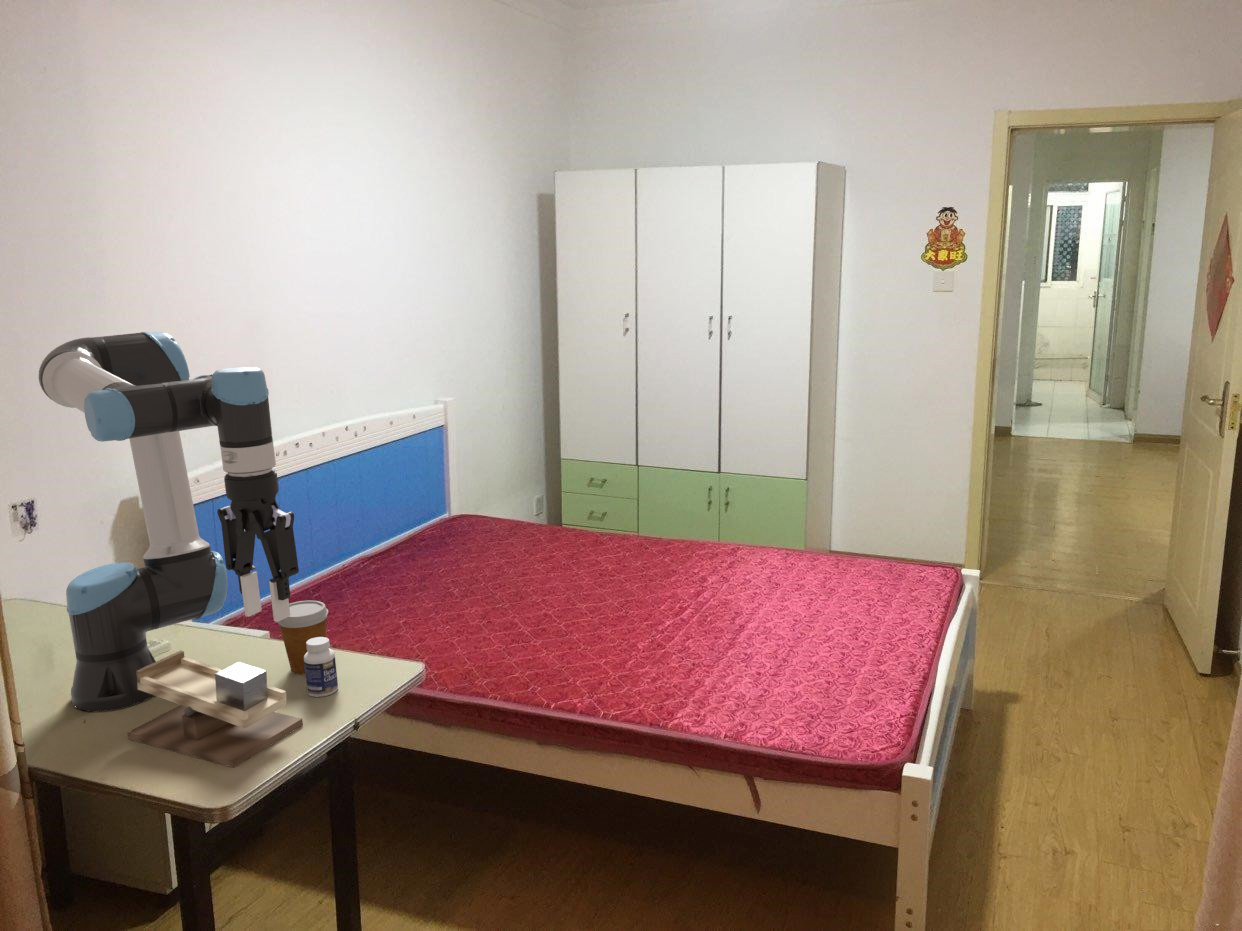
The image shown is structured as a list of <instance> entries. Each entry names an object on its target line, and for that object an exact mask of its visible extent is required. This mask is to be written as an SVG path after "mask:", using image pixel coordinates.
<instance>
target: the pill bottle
mask: <svg viewBox="0 0 1242 931" xmlns="http://www.w3.org/2000/svg"><path fill="white" fill-rule="evenodd" d="M330 647H331V646H330V639H329V638H328V637H327V636H326V637H316V638H312V639H309V640H308V641H307V642H306V648H307V651H308V652H307V653H306V654H305V655H304V667H305V674H304V676H305V683H306V692H307V694H308V695H309V696H310V697H315V698H320V697H321V698H322V697H327V696H330V695H333V694H335V693H336V692H337V691H338V689H339V684H338V682H339V681H338V673H337V672H338V671H337V664H336V662H337V661H336V655H335V651H334V650H333V649H331V648H330Z"/></svg>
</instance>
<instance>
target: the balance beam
mask: <svg viewBox="0 0 1242 931" xmlns="http://www.w3.org/2000/svg"><path fill="white" fill-rule="evenodd" d="M221 670H223V669H222V668H219V667H216V666H213V665H210V664H206V663H205V662H204V663H203V662H201V661H198V660H196V659H195V660H194V659H192V658H189V657H187V656H185V651H183V650H179V651H178V650H177V651H176V652H174V653H172V654H170V655H168V656H166V657H163V658H161V659H159V660H156V662H154V663H152V664H150V665H148V666H146V667H144V668H141V669H139V670H137V671H136V673H137V686H138V690H141V691H144V692H146V693H149V694H152V695H154V696H155V697H158V698H160V699H164V700H166V701H168V702H172V703H175V704H177V705H178V706H180V705H182V706H185V707H186V708H185V709H184V712H185V714H186V715H187V716H190V715H192V714H194V713H195V712H197V711H198V712H201V713H204V714H206V715H209V716H212V717H215V718H217V719H220V720H223V721H226V722H228V723H231V724H234V725H237V726H239V727H242V728H247V727H248V726H250V725H252V724H254V723H255V722H257V721H259V720H260V719H262V718H264V717H266V716H267V715H269V714H271V713H272V712H276V711H277V710H279V709H281V708H283V707H284V706H286V705H287V690H284V689H281V688H279V687H274V686H272V685H269V684H267V696H268V698H267V699H266V700H264V701H262V702H260V703H259V704H257V705H255V706H253V707H251V708H250V709H248V710H246V711H242V710H239V709H236V708H234V707H231V706H228V705H225V704H222V703H220V702H217V699H216V681H215V673H217V672H219V671H221Z"/></svg>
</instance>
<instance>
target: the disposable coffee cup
mask: <svg viewBox="0 0 1242 931" xmlns="http://www.w3.org/2000/svg"><path fill="white" fill-rule="evenodd" d="M289 608H290V616H289V617H287V618H285V619H283V620H281V621H279V622H277V624H278V625H279V628H280V632H281V636H282V640H283V645H284V647H285V652H286V655H287V658H288V663H289V667H290V668H289V669H290V672H292V673H293V672H294V674H296V673H298V674H297V675H305V667H304V655H305V654H306V653H307V652H308V651H307V648H306V642H307V641H308V640H309V639H312V638H316V637H326V638H327V618H328V614H329V609H328V608H327V607H326V604H325V603H324V602H322V601H320V600H319V601H318V600H301V601H300V600H299V601H295V602H289Z"/></svg>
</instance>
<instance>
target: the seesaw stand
mask: <svg viewBox="0 0 1242 931" xmlns="http://www.w3.org/2000/svg"><path fill="white" fill-rule="evenodd" d="M185 708H186V707H185V706H182V705H177V706H176V707H174V708H172V709H170V710H168V711H166V712H164V713H163V714H160V715H158V716H156V717H155V718H152V719H151V720H149V721H147V722H144V723H143V724H141V725H139V726H137V727H135V728H133V729H131V730H129V731H128V732H127V738H128V740H131V741H134V742H138V743H142V744H145V745H149V746H153V747H157V748H160V749H164V750H167V751H171V752H175V753H178V754H182V755H186V756H190V757H194V758H197V759H201V760H205V761H207V762H208V761H209V762H213V763H215V764H220V765H224V766H227V767H230V768H236V767H237V766H240V765H241V764H243V763H244V762H245V761H247V760H249V759H251V758H253V757H254V756H255V755H257V754H258V753H260V752H262V751H263V750H265V749H266V748H268V747H270V746H272V745H273V744H275V743H276V742H277V741H280V740H281V739H283V738H284V737H286V736H287V734H288V735H289V734H291V733H293V732H294V731H296V730H297V729H299V728H300V726H301V727H302V726H303V725H304V723H303V722H304V721H303V718H301V717H297V716H293V715H288V714H284V713H280V712H276V711H274V712H272V713H271V714H269V715H267V716H266V717H264V718H262V719H260V720H259V721H257V722H255V723H254V724H252V725H250V726H248V727H247V728H242V727H239V726H237V725H234V724H231V723H228V722H226V721H223V720H220V719H217V718H215V717H212V716H209V715H206V714H204V713H201V712H198V711H197V712H195V713H194V714H192V715H190V716H187V715H186V714H185V712H184V709H185ZM295 729H296V730H295ZM293 730H294V731H293ZM292 731H293V732H292ZM290 732H291V733H290ZM285 735H286V736H285ZM282 737H283V738H282ZM279 739H280V740H279ZM271 744H272V745H271Z"/></svg>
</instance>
